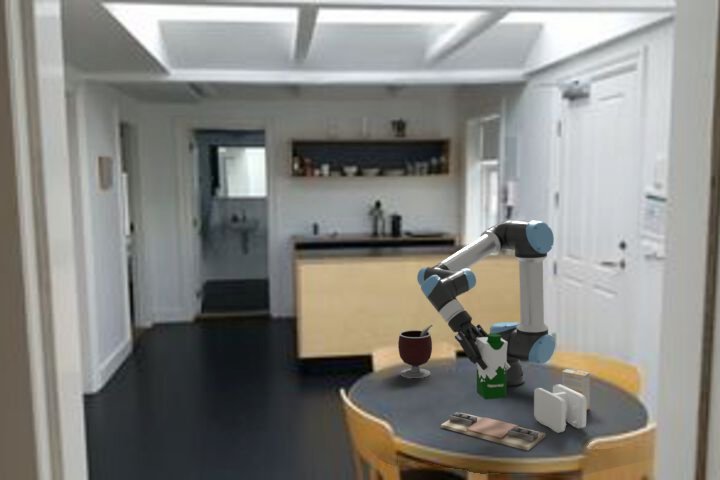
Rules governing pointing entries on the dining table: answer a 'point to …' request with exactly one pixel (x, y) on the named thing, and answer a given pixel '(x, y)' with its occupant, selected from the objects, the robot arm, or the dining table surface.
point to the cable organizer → (560, 408)
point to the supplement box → (577, 382)
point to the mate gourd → (415, 351)
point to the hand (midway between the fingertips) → (500, 373)
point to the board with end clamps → (493, 430)
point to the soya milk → (496, 356)
